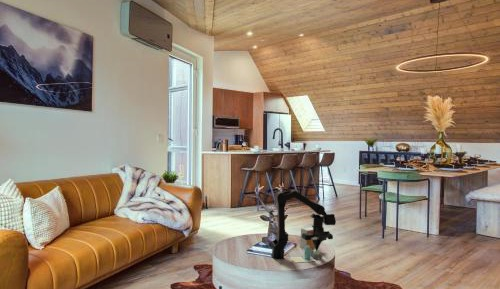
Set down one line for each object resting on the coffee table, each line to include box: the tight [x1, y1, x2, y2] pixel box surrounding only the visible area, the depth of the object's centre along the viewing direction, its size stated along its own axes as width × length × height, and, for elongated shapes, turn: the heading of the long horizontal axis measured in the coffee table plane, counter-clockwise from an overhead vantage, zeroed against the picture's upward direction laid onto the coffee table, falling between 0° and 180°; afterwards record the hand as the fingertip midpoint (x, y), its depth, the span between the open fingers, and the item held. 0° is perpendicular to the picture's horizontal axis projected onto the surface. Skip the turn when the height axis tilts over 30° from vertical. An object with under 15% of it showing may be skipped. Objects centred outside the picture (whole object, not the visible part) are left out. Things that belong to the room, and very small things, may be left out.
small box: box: [299, 227, 315, 250], centre depth 239 cm, size 8×6×13 cm
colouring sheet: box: [289, 256, 316, 264], centre depth 216 cm, size 13×8×1 cm, turn 107°
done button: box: [313, 249, 321, 255], centre depth 221 cm, size 4×4×4 cm
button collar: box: [311, 251, 323, 260], centre depth 221 cm, size 5×5×2 cm
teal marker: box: [303, 245, 312, 260], centre depth 217 cm, size 4×4×8 cm
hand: (316, 250), depth 221 cm, fingers closed, pressing on done button
